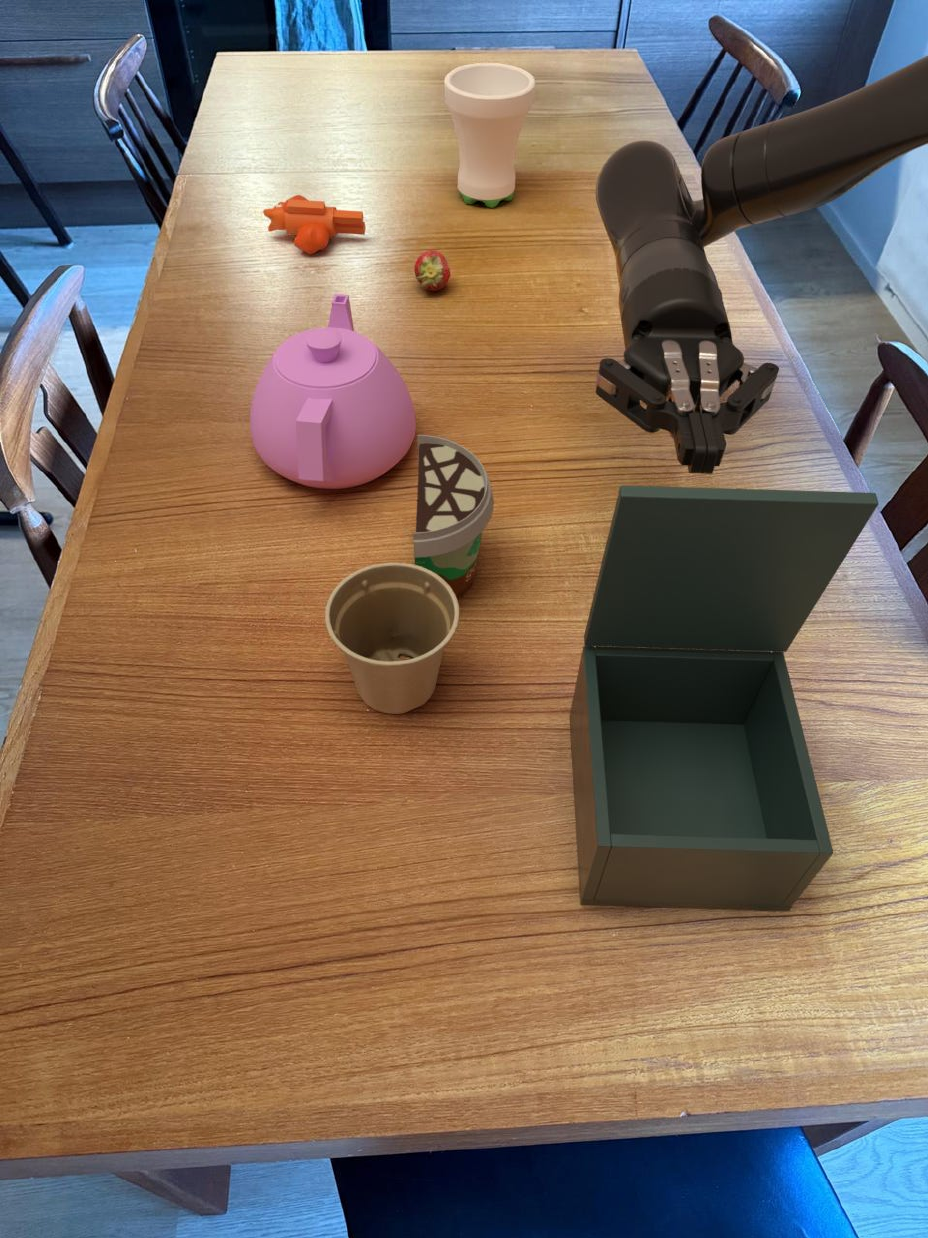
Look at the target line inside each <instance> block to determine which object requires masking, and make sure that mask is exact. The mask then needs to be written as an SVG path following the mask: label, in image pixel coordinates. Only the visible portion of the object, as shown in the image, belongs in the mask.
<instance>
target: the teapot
mask: <svg viewBox="0 0 928 1238" xmlns="http://www.w3.org/2000/svg"><path fill="white" fill-rule="evenodd" d="M332 298H333V299H332V300H331V308H330V314H329V321H328V324H327V327H316V328H311V329H306V330H303V331H300V332H298V333H295V334H293V335H291V336H289V337H288V338H286V339H285V340H284V341H283V342H282V343H280V344H279V346H278V347H277V348H276V349H275V351H274V352H273V354H272V355H271V357H270V358H269V360H268V362H267V364H266V366H265V367H264V369H263V371H262V373H261V375H260V377H259V379H258V382H257V384H256V387H255V389H254V392H253V396H252V401H251V407H250V413H249V414H250V422H249V423H250V425H249V426H250V430H249V431H250V436H251V442H252V445H253V447H254V449H255V452H256V453H257V455H258V456H259V457H260V459H261V460H262V461H263V463H265V465H267V467H268V468H270V469H271V470H272V471H274V472H275V473H277V474H279V475H280V476H282V477H284V478H286V479H288V480H290V481H292V482H294V483H297V484H300V485H302V486H306V487H309V488H314V489H323V490H324V489H325V490H339V489H347V488H348V489H349V488H354V487H358V486H361V485H364V484H367V483H370V482H372V481H374V480H376V479H378V478H379V477H381V476H383V475H384V474H385V473H387V472H388V471H390V470H391V469H392V468H394V466H395V465H397V464H398V463H399V462H400V461H401V460H402V459H403V458H404V457H405V456H406V454H407V453H408V452H409V449H411V445H412V444H413V442H414V439H415V435H416V430H417V428H416V427H417V420H416V412H415V407H414V404H413V400H412V396H411V394H410V391H409V389H408V387H407V385H406V382H405V380H404V379H403V376H402V375H401V374H400V372H399V370H398V369H397V368H396V367H395V365H394V363H392V361H391V360H390V359H389V357H387V356H386V355H385V353H384V352H383V351H382V350H381V349H380V348H379V347H378V346H377V345H376V344H375V343H374V342H373V341H372V340H371V339H369V338H368V337H367V336H365V335H363V334H361V333H359V332H357V331H355V328H354V327H355V326H354V321H353V315H352V308H351V301H350V295H349V294H344V293H343V294H342V293H341V294H340V293H334V296H333V297H332Z"/></svg>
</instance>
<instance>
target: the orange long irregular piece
mask: <svg viewBox="0 0 928 1238" xmlns="http://www.w3.org/2000/svg"><path fill="white" fill-rule="evenodd" d="M262 214H263V215H264V216H265V217H266V218H268V219H269V220H270V223H269V224H268V227H267V231H268V232H274V231H285V232H286V234H287V235H291V236H295V238H294V240H293V245H294V247H296V248H297V249H300V251H304V252H305V253H307V254H309V255H312V254H315V253H316V252H317V251H319V250H324V249H325V248H327V245H328V244H329V241H331V238H337V236H338V234H344V235H345V234H347V235H360V236H361V235H363V236H365V234H366V221H364V212H363V211H361V210H360V211H359V210H347V209H345V210H344V209H338V208H337V207H336V206H326V203H325V201H324V200H323V201H322V200H309V199H307V198H306V197H305V196H303V195H301V194H295V195H294V196H292V197H290V198H287V199H286V200H285V202H284V201H279V202H278V203H277V204H276V205H275V206H273V207H272V208H265V209H263V212H262Z"/></svg>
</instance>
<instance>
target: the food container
mask: <svg viewBox="0 0 928 1238" xmlns="http://www.w3.org/2000/svg"><path fill="white" fill-rule="evenodd" d="M417 473H418V474H417V497H416V498H417V499H416V516H415V517H416V518H415V522H416V523H415V532H413V533H412V534H413V558H414V565H417V566H421V567H423V568H426V569H428V570H430V571H432V572H434V573H436V574H437V575H438V576H440V577H441V578H442V579H443V580H445V582H446V583H447V584H448V585H449V586H450V587H451V588H452V590H453V592H454V593H455V595H456V598H457V600H459V599H461V598H462V597H464V596H465V595H466V593H467V592H468V591H469V590H470V588H471V587H472V586H473V584H474V581H475V579H476V574H477V570H478V569H477V568H478V562H479V556H480V549H481V542H482V535H483V531H484V530H485V529H486V528H487V526H488V524H489V522H490V520H491V519H492V515H493V512H494V507H495V506H494V505H495V499H494V493H493V489H492V484H491V480H490V477H489V476H488V472H487V470H486V469H485V467H484V465H483V464H482V462H481V461H480V459H478V457H477V456H476V455H475V454H474V453H473V452H471V451H470V450H469V449H467V448H466V447H464V446H463V445H461V444H459V443H457V442H455V441H452V440H450V439H447V438H443V437H439V436H435V435H428V434H417Z"/></svg>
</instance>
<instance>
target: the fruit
mask: <svg viewBox="0 0 928 1238" xmlns="http://www.w3.org/2000/svg"><path fill="white" fill-rule="evenodd" d="M413 270H414V276H415V280H417V281H418V283H419V284H420V287H419V288H420V290H422V291H425V290H427V291H431V292H437V291H440V290H443V289H444V288H445V287H446V285H447V284H448V283H449V280H450V278H451V269H450V267H449V265H448V260H447V258H446V257H445V256H444V255H443V253H441V252H439V251H437V250H433V249H429V250H427V251H425V252H423V253H422V254H421V255H419V256H418V258H417V259H416V261H415V263H414V269H413Z"/></svg>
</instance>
